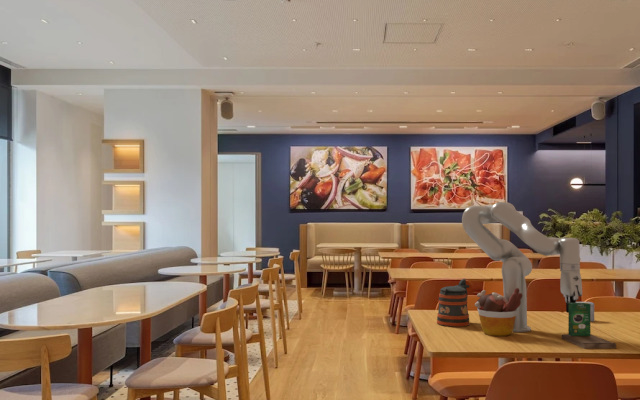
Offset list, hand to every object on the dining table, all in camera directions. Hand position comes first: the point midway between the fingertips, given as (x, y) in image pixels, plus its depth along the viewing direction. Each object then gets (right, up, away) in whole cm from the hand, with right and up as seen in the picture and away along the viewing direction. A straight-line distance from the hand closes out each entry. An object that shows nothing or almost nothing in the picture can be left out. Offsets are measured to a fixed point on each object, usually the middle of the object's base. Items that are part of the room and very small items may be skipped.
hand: (570, 312), depth 230 cm
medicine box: (+22, -11, +35) cm, 43 cm away
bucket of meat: (-29, -10, +4) cm, 31 cm away
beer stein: (-41, -11, +29) cm, 51 cm away
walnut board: (0, -9, -14) cm, 16 cm away
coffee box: (0, -8, -7) cm, 11 cm away
